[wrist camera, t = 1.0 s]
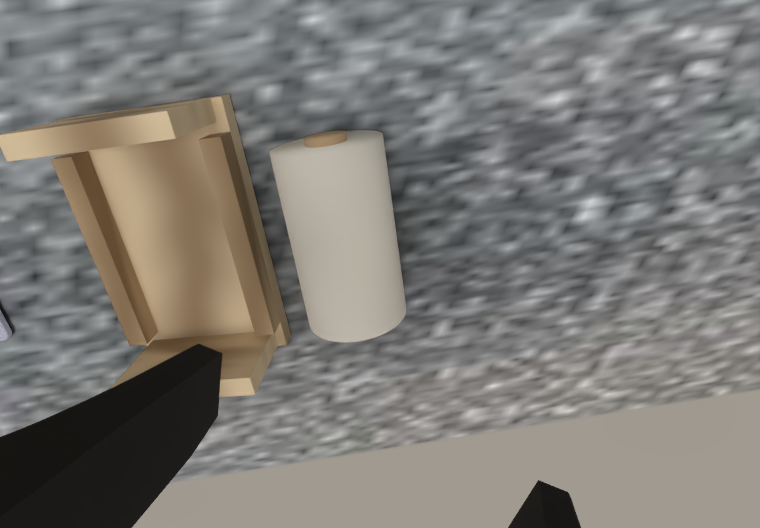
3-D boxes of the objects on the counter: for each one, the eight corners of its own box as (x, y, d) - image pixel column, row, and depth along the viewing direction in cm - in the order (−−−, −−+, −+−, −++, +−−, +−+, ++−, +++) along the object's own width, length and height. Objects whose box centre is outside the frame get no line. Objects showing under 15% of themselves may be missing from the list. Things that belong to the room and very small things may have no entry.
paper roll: (408, 292, 26) (405, 343, 21) (320, 299, 26) (300, 351, 22) (385, 118, 22) (376, 138, 18) (284, 132, 23) (251, 154, 18)
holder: (159, 345, 28) (109, 404, 24) (69, 117, 23) (-17, 137, 18) (290, 334, 27) (265, 394, 23) (229, 94, 22) (179, 108, 17)
